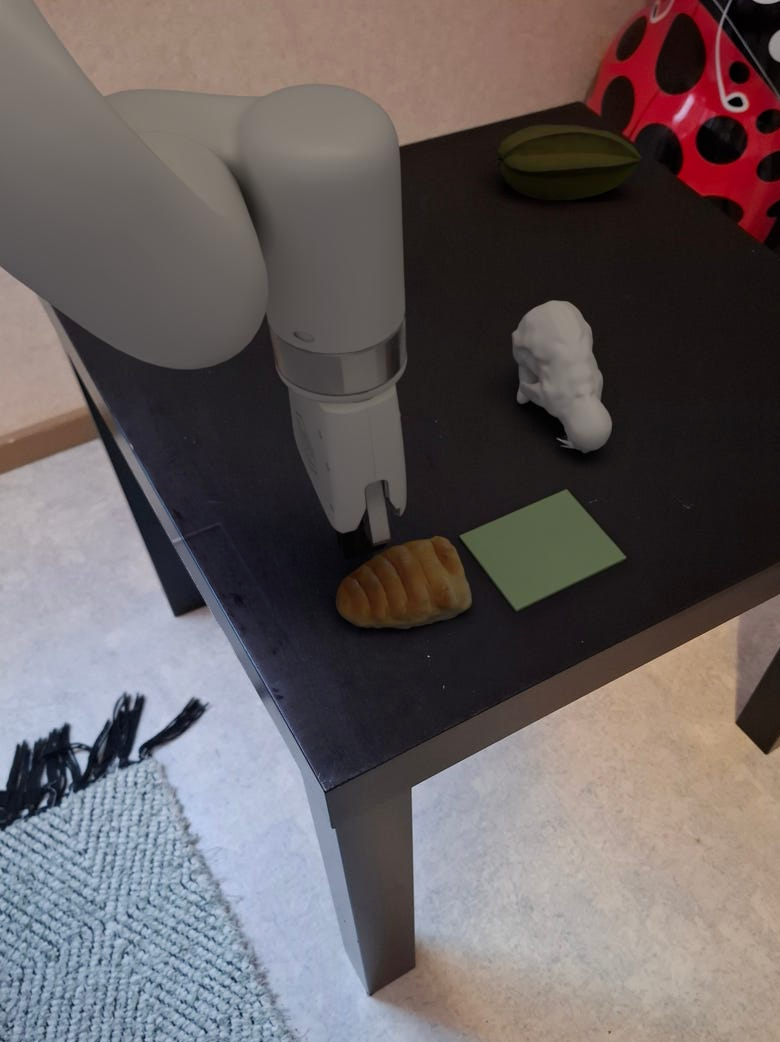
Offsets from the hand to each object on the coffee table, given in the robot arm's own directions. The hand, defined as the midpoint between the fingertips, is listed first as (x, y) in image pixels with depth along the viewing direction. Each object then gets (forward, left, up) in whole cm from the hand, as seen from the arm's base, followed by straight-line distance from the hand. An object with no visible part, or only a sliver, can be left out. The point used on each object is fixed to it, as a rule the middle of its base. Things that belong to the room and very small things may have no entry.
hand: (361, 546), depth 66 cm
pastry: (+5, 0, -2) cm, 5 cm away
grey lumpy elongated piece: (+1, +23, -2) cm, 23 cm away
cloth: (+9, +10, -2) cm, 14 cm away
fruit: (-21, +50, -2) cm, 54 cm away
